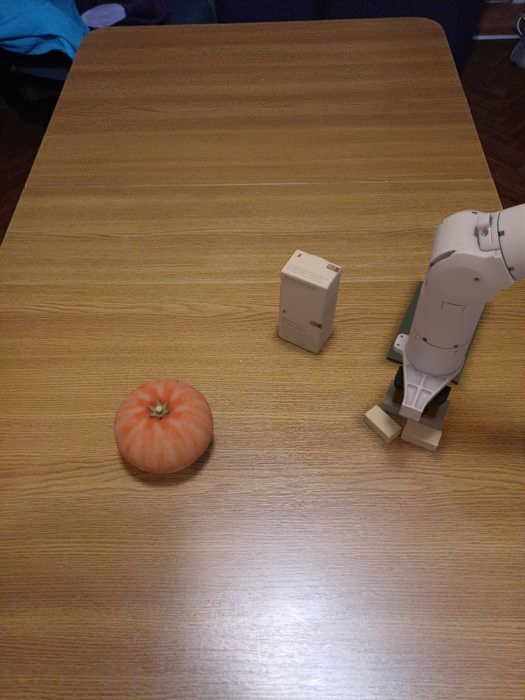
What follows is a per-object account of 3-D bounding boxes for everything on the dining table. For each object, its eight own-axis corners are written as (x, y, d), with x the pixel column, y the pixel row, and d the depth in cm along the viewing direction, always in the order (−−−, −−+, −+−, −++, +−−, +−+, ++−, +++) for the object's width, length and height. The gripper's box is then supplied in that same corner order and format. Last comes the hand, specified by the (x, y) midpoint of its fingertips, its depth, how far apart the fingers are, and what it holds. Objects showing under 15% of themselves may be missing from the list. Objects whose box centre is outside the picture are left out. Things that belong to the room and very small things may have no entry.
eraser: (447, 410, 71) (456, 388, 68) (438, 434, 69) (447, 413, 66) (389, 388, 73) (395, 366, 70) (379, 411, 71) (384, 390, 68)
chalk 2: (439, 437, 70) (442, 431, 69) (434, 452, 69) (437, 446, 68) (406, 424, 71) (407, 418, 70) (400, 438, 70) (402, 432, 69)
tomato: (102, 442, 70) (84, 406, 64) (175, 386, 75) (165, 346, 68) (162, 506, 66) (149, 473, 59) (236, 442, 70) (231, 405, 64)
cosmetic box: (277, 337, 79) (276, 271, 69) (293, 314, 81) (295, 246, 72) (320, 356, 77) (325, 290, 67) (335, 331, 79) (343, 264, 70)
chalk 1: (400, 433, 70) (402, 427, 69) (387, 443, 70) (389, 437, 68) (375, 410, 72) (376, 404, 71) (362, 420, 71) (364, 413, 70)
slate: (485, 304, 81) (486, 301, 81) (457, 384, 74) (458, 382, 74) (419, 283, 84) (420, 280, 83) (385, 359, 76) (386, 356, 76)
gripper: (425, 262, 64) (404, 342, 74) (377, 366, 56) (361, 438, 67) (493, 284, 62) (461, 362, 72) (454, 394, 54) (425, 464, 65)
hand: (417, 400), depth 70 cm, fingers closed on eraser, 2 cm apart
